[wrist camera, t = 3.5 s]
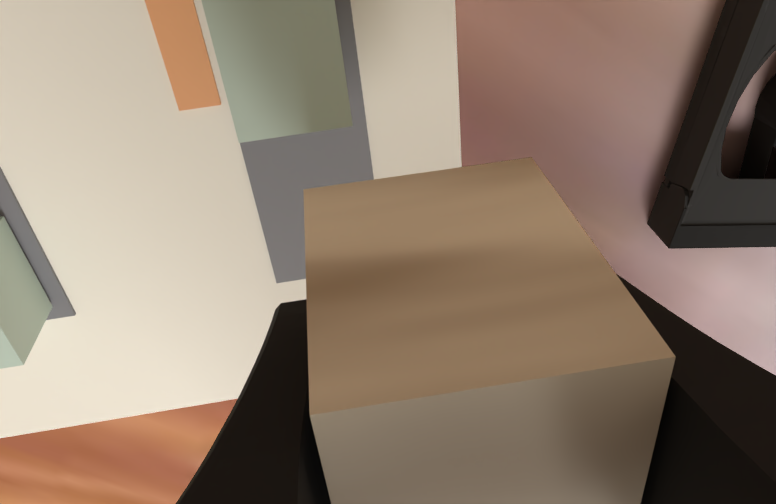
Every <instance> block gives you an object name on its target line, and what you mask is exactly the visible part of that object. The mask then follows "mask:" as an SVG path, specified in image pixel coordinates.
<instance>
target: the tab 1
mask: <svg viewBox="0 0 776 504" xmlns="http://www.w3.org/2000/svg"><path fill="white" fill-rule="evenodd" d="M52 307H53V306H52V304H51V303H50V301H49V299H48V297H47V295H46V293H45V291H44V290H43V288H42V286H41V284H40V282H39V280H38V279H37V277H36V275H35V273H34V271H33V269H32V267H31V266H30V264H29V262H28V260H27V258H26V256H25V255H24V253H23V251H22V249H21V247H20V245H19V243H18V242H17V240H16V238H15V236H14V234H13V232H12V231H11V229H10V227H9V225H8V223H7V221H6V219H5V218H4V216H1V217H0V369H2V368H8V367H15V366H21V365H24V363H25V361H26V359H27V357H28V355H29V353H30V351H31V349H32V347H33V345H34V343H35V341H36V339H37V337H38V335H39V333H40V331H41V329H42V327H43V325H44V323H45V321H46V319H47V317H48V315H49V313H50V311H51V309H52Z"/></svg>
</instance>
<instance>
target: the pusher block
mask: <svg viewBox="0 0 776 504" xmlns="http://www.w3.org/2000/svg"><path fill="white" fill-rule="evenodd" d="M303 191H304V228H305V265H306V301H307V338H308V375H309V412H310V419H311V423H312V427H313V431H314V435H315V439H316V444H317V448H318V452H319V456H320V460H321V464H322V468H323V472H324V476H325V480H326V484H327V489H328V493H329V497H330V501H331V504H641V500H642V496H643V491H644V487H645V483H646V479H647V475H648V471H649V466H650V462H651V458H652V454H653V450H654V446H655V441H656V437H657V433H658V429H659V425H660V420H661V416H662V412H663V408H664V404H665V400H666V395H667V391H668V387H669V383H670V379H671V374H672V370H673V366H674V362H675V358H676V356H675V355H674V354H673V352H672V351H671V349H670V348H669V347H668V345H667V344H666V343H665V341H664V340H663V338H662V337H661V336H660V334H659V333H658V331H657V330H656V329H655V327H654V326H653V325H652V323H651V322H650V320H649V319H648V318H647V316H646V315H645V313H644V312H643V311H642V309H641V308H640V307H639V305H638V304H637V302H636V301H635V300H634V298H633V297H632V296H631V294H630V293H629V291H628V290H627V289H626V287H625V286H624V284H623V283H622V282H621V280H620V279H619V278H618V276H617V275H616V273H615V272H614V271H613V269H612V268H611V266H610V265H609V264H608V262H607V261H606V260H605V258H604V257H603V255H602V254H601V253H600V251H599V250H598V249H597V247H596V246H595V244H594V243H593V242H592V240H591V239H590V237H589V236H588V235H587V233H586V232H585V231H584V229H583V228H582V226H581V225H580V224H579V222H578V221H577V220H576V218H575V217H574V215H573V214H572V213H571V211H570V210H569V208H568V207H567V206H566V204H565V203H564V202H563V200H562V199H561V197H560V196H559V195H558V193H557V192H556V190H555V189H554V188H553V186H552V185H551V184H550V182H549V181H548V179H547V178H546V177H545V175H544V174H543V173H542V171H541V170H540V168H539V167H538V166H537V164H536V163H535V161H534V160H533V159H532V157H529V158H522V159H515V160H508V161H501V162H494V163H487V164H480V165H473V166H466V167H459V168H452V169H444V170H437V171H430V172H423V173H416V174H409V175H402V176H395V177H388V178H381V179H374V180H367V181H360V182H352V183H345V184H338V185H331V186H324V187H317V188H310V189H303Z"/></svg>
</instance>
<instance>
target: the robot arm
mask: <svg viewBox="0 0 776 504" xmlns="http://www.w3.org/2000/svg"><path fill="white" fill-rule="evenodd" d="M616 275H617V274H616ZM617 276H618V278H619V279H620V280H621V282H622V283H623V284H624V286H625V287H626V289H627V290H628V291H629V293H630V294H631V296H632V297H633V298H634V300H635V301H636V302H637V304H638V305H639V307H640V308H641V309H642V311H643V312H644V313H645V315H646V316H647V318H648V319H649V320H650V322H651V323H652V325H653V326H654V327H655V329H656V330H657V331H658V333H659V334H660V336H661V337H662V338H663V340H664V341H665V343H666V344H667V345H668V347H669V348H670V349H671V351H672V352H673V354H674V355H675V356H676V358H675V362H674V366H673V370H672V374H671V379H670V383H669V387H668V391H667V395H666V400H665V404H664V408H663V412H662V416H661V420H660V425H659V429H658V433H657V437H656V441H655V446H654V450H653V454H652V458H651V462H650V466H649V471H648V475H647V479H646V483H645V487H644V491H643V496H642V500H641V504H776V375H774V374H772V373H770V372H768V371H766V370H765V369H763V368H761V367H759V366H758V365H756V364H754V363H752V362H751V361H749V360H747V359H746V358H744V357H742V356H741V355H739V354H737V353H736V352H734V351H732V350H730V349H729V348H727V347H725V346H724V345H722V344H720V343H719V342H717V341H716V340H714V339H712V338H711V337H709V336H708V335H706V334H704V333H703V332H701V331H700V330H698V329H696V328H695V327H693V326H692V325H690V324H689V323H687V322H686V321H684V320H683V319H681V318H680V317H678V316H677V315H675V314H674V313H672V312H671V311H669V310H668V309H666V308H665V307H663V306H662V305H660V304H659V303H657V302H656V301H654V300H653V299H652V298H650V297H649V296H647V295H646V294H644V293H643V292H641V291H640V290H639V289H637V288H636V287H634V286H633V285H631V284H630V283H629V282H627V281H626V280H624V279H623V278H621V277H620V276H619V275H617ZM176 504H331V501H330V497H329V493H328V489H327V484H326V480H325V476H324V472H323V468H322V464H321V460H320V456H319V452H318V448H317V444H316V439H315V435H314V431H313V427H312V423H311V419H310V412H309V375H308V338H307V301H306V299H305V300H298V301H291V302H285V303H280V305H279V306H278V307H277V308H276V309H275V312H274V315H273V318H272V321H271V324H270V327H269V330H268V332H267V335H266V338H265V340H264V343H263V345H262V347H261V350H260V352H259V354H258V357H257V359H256V361H255V364H254V366H253V368H252V370H251V372H250V374H249V377H248V379H247V381H246V383H245V385H244V387H243V389H242V391H241V393H240V395H239V397H238V400H237V401H236V403H235V405H234V407H233V409H232V411H231V413H230V415H229V417H228V418H227V420H226V422H225V424H224V426H223V427H222V429H221V431H220V433H219V435H218V436H217V438H216V440H215V442H214V444H213V445H212V447H211V449H210V451H209V452H208V454H207V456H206V457H205V459H204V461H203V462H202V464H201V466H200V467H199V469H198V470H197V472H196V474H195V475H194V477H193V478H192V480H191V481H190V483H189V485H188V486H187V488H186V489H185V491H184V492H183V494H182V495H181V497H180V498H179V500H178V501H177V503H176Z"/></svg>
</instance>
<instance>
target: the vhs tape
mask: <svg viewBox="0 0 776 504" xmlns="http://www.w3.org/2000/svg"><path fill="white" fill-rule="evenodd" d="M775 50H776V0H726V2H725V5H724V8H723V11H722V13H721V16H720V19H719V22H718V25H717V28H716V30H715V33H714V36H713V39H712V42H711V45H710V47H709V50H708V53H707V56H706V59H705V62H704V65H703V67H702V70H701V73H700V76H699V79H698V82H697V84H696V87H695V90H694V93H693V96H692V99H691V101H690V104H689V107H688V110H687V113H686V116H685V118H684V121H683V124H682V127H681V130H680V133H679V135H678V138H677V141H676V144H675V147H674V150H673V152H672V155H671V158H670V161H669V164H668V167H667V169H666V172H665V175H664V176H665V177H666V178H665V181H664V182H662V184H661V187H660V189H659V192H658V195H657V198H656V201H655V204H654V207H653V209H652V212H651V215H650V218H649V221H648V225H649V226H650V228H651V229H652V230H653V231H654V232H655V233H656V234H657V235H658V237H659V238H660V239H661V240H662V241H663V242H664V243H665V244H666V246H667V247H668V248H729V247H776V179H773V178H764V177H765V173H766V170H767V166H768V163H769V159H770V156H771V152H772V149H773V146H774V147H775V148H776V74H775V75H774V76H773V77H772V78H771V79H770V81H769V82H768V83H767V84H766V86H765V88H764V89H763V91H762V93H761V94H760V96H759V99H758V102H757V104H756V107H755V115H754V120H753V124H752V128H751V131H750V135H749V139H748V143H747V147H746V151H745V155H744V159H743V163H742V167H741V170H740V174H739V178H728V177H725V176H724V175H723V174H722V172H721V150H722V145H723V141H724V136H725V132H726V127H727V125H728V123H729V120H730V118H731V116H732V113H733V111H734V109H735V106H736V104H737V102H738V100H739V98H740V97H741V95H742V93H743V92H744V90H745V88H746V87H747V85H748V83H749V82H750V80H751V78H752V77H753V75H754V74H755V73H756V72H757V71H758V69H759V68H760V67H761V66H762V65H763V63H764V62H765V61H766V60H767V59H768V57H769V56H770V55H771V54H772V53H773V52H774V51H775Z"/></svg>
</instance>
